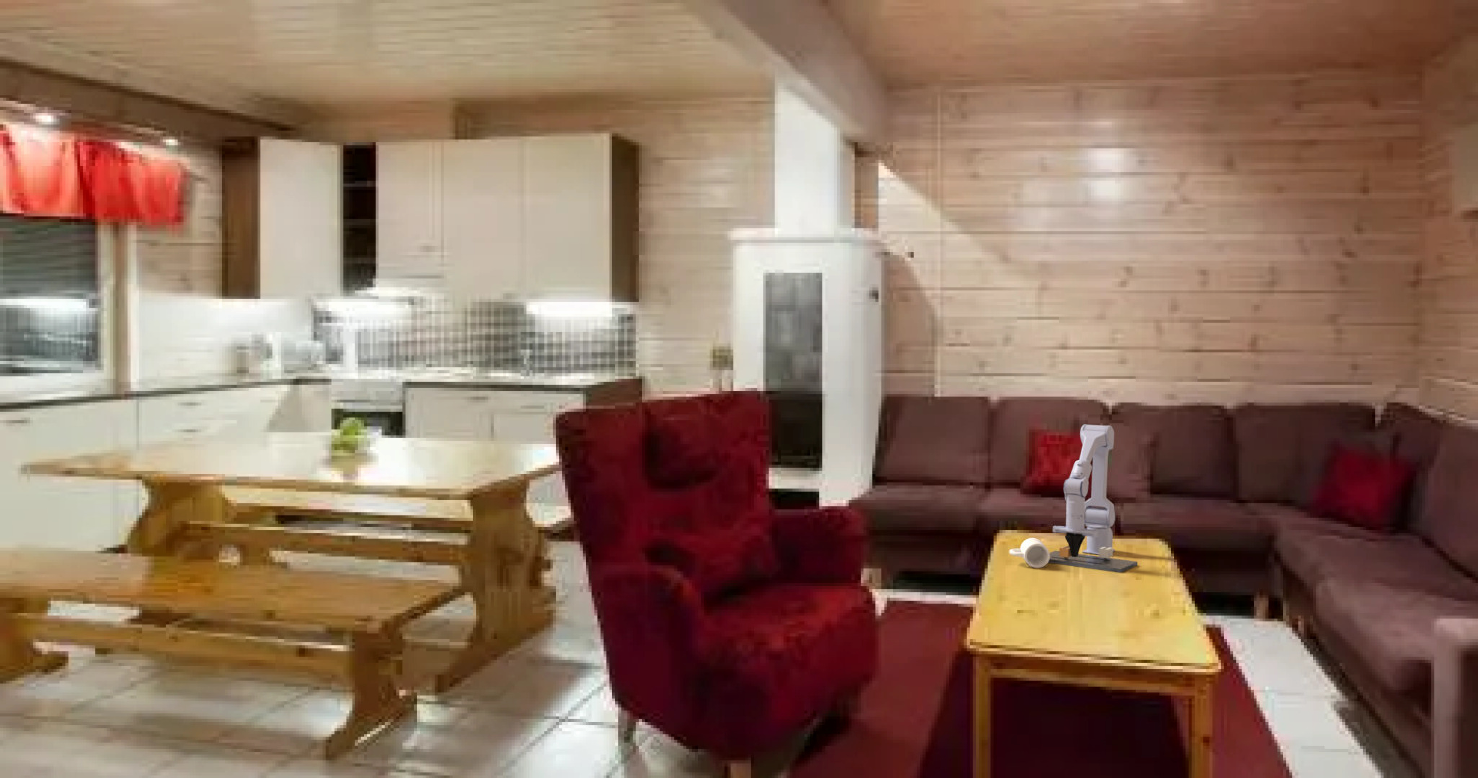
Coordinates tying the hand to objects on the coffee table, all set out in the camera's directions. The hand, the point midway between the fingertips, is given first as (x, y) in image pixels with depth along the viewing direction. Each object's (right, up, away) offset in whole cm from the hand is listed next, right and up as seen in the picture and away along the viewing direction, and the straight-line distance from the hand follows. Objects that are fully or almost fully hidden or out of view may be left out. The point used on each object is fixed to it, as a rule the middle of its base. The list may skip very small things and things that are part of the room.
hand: (1074, 556), depth 371 cm
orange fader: (-2, -1, +2) cm, 3 cm away
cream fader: (+10, -1, +1) cm, 10 cm away
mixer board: (+4, -2, +1) cm, 5 cm away
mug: (-15, -3, -1) cm, 16 cm away
